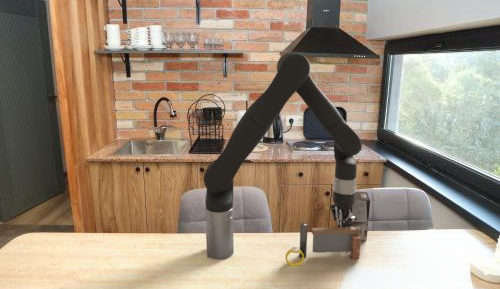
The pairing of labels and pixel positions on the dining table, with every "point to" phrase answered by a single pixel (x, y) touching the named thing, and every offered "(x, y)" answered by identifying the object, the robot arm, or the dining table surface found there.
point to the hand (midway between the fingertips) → (341, 234)
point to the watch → (294, 250)
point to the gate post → (303, 239)
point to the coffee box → (361, 213)
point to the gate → (333, 239)
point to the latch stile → (355, 247)
